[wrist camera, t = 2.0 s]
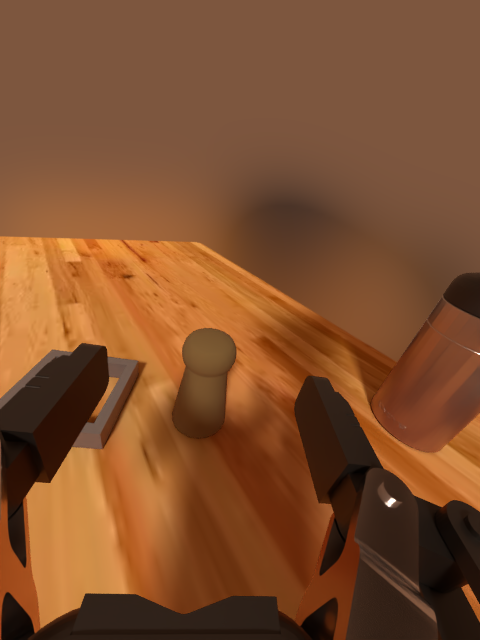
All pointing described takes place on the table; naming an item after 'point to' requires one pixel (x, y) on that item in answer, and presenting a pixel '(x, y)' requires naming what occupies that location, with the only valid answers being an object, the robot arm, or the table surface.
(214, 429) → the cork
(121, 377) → the square frame
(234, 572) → the table surface
